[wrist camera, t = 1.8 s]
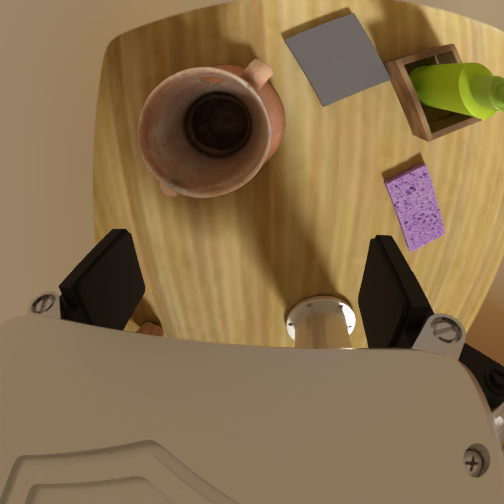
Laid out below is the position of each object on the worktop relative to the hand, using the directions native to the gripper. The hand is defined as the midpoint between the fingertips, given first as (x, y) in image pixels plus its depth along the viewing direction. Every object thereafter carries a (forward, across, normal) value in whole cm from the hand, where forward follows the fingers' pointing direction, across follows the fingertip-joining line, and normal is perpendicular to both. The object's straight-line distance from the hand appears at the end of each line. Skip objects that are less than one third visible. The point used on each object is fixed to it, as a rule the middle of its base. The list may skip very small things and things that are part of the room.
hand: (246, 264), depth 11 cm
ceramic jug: (+30, +6, -2) cm, 31 cm away
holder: (+30, -21, -9) cm, 37 cm away
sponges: (+30, -21, +9) cm, 38 cm away
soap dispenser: (+30, -21, -9) cm, 37 cm away
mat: (+30, -8, -11) cm, 33 cm away
